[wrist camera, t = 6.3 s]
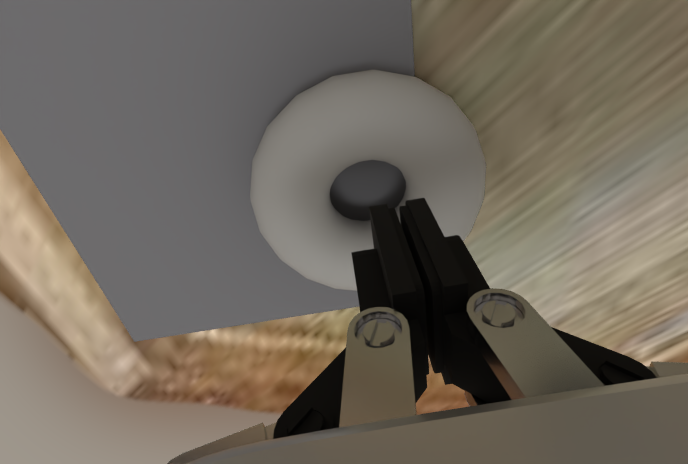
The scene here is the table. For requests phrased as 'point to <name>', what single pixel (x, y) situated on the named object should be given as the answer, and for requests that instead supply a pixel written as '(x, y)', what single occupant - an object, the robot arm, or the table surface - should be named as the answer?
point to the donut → (355, 146)
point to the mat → (184, 141)
